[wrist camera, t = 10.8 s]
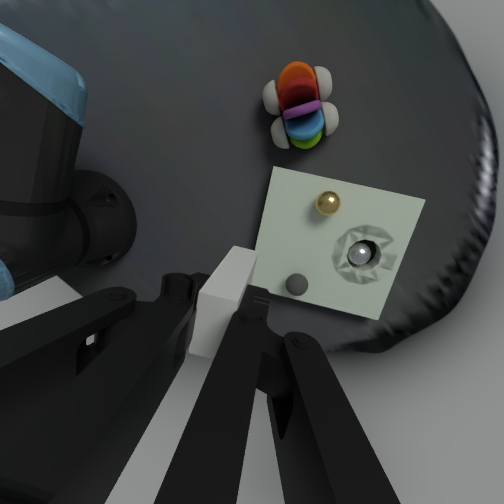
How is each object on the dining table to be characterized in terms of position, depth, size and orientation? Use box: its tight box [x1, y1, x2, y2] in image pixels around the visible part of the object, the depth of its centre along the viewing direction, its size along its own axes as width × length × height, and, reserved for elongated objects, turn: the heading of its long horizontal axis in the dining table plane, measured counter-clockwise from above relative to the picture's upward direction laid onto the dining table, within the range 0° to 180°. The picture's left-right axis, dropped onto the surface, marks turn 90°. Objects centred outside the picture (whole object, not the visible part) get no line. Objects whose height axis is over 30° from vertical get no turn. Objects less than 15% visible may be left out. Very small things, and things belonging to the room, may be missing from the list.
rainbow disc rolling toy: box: [262, 62, 339, 149], centre depth 35 cm, size 8×10×7 cm
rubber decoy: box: [285, 273, 308, 296], centre depth 40 cm, size 3×3×3 cm
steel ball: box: [347, 242, 371, 265], centre depth 40 cm, size 3×3×3 cm
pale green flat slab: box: [251, 166, 425, 320], centre depth 41 cm, size 20×18×2 cm
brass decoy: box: [315, 191, 341, 216], centre depth 37 cm, size 3×3×3 cm
